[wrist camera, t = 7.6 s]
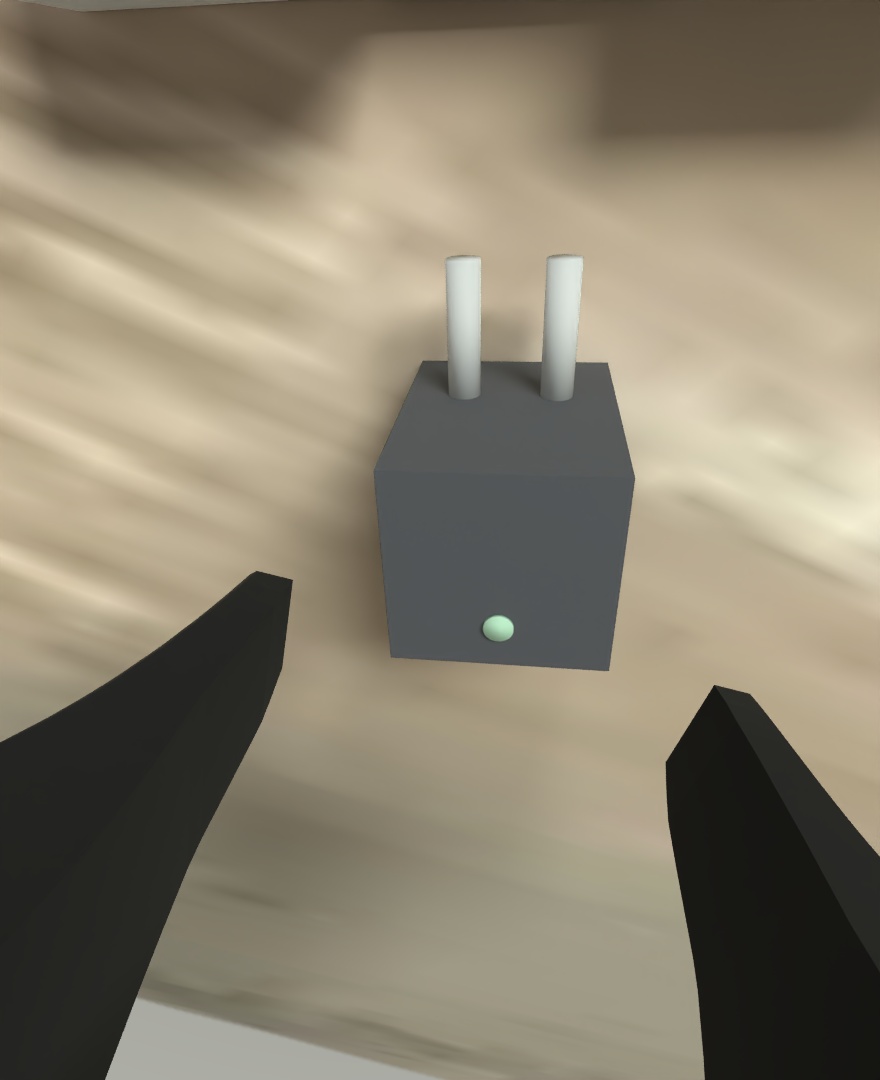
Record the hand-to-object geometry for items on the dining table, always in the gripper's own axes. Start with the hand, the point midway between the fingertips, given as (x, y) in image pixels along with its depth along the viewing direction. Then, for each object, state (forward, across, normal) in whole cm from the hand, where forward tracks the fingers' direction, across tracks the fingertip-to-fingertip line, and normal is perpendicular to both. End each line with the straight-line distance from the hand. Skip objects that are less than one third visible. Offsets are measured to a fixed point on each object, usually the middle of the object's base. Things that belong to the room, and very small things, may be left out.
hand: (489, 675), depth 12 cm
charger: (+8, 0, -2) cm, 8 cm away
